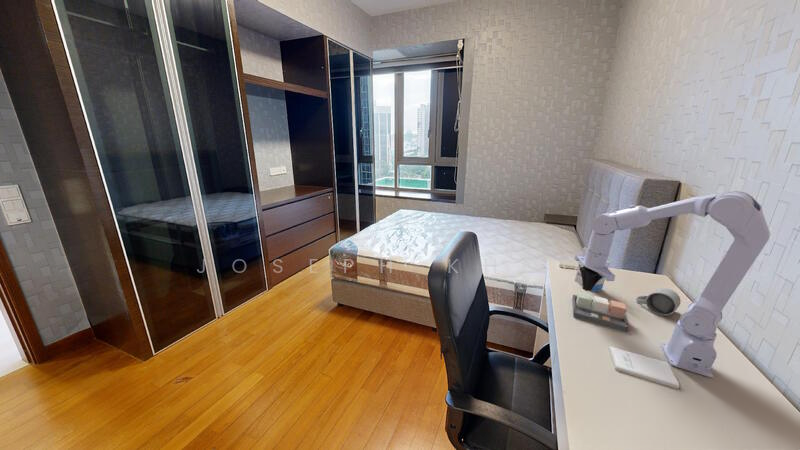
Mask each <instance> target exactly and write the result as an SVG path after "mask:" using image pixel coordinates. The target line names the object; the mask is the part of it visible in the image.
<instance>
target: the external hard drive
mask: <svg viewBox="0 0 800 450" xmlns="http://www.w3.org/2000/svg"><path fill="white" fill-rule="evenodd" d="M608 352H609V355H610V357H611V359H612V364H613V369H614V370H615V371H619V372H621V373H624V374H629V375H632V376H635V377H638V378H641V379H645V380H648V381H652V382H654V383H658V384H660V385H664V386H667V387H671V388H674V389H678V390H679V389H680V384H679V381H678V379H677V377H676V376H675V374H674V372H673V370H672V368H671V366H670V365H669V364H670V363H668V362H667V361H663V360H660V359H656V358H653V357H648V356H645V355H642V354H639V353H634V352H632V351H631V352H630V351H627V350H624V349H619V348H617V347H613V346H608Z"/></svg>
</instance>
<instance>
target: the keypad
mask: <svg viewBox="0 0 800 450" xmlns="http://www.w3.org/2000/svg"><path fill="white" fill-rule="evenodd" d="M577 296H578V294H572V298H571V301H572V315H573V318H577V319H581V320H584V321H587V322H591V323H595V324H598V325H601V326H605V327H609V328H611V329H612V328H613V329H616V330H619V331H623V332H626V333H628V330H629V328H630V327H629V325H628V322H627V319H626V316H625V315H626V314H625V315H624V318H621V317H617V316H614V315H610V314H609V310H608V309H607V313H602V312H599V311H595V310H593V308H592V302H593V299H594V298H593V299H592V302H591V306H590V309H588V308H584V307H580V306H577V302H576V300H577ZM608 307H609V306H608Z"/></svg>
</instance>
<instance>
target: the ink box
mask: <svg viewBox="0 0 800 450" xmlns="http://www.w3.org/2000/svg"><path fill="white" fill-rule="evenodd" d="M587 248H588V247H586V246H584V247H583V248H582V253H581V255H583V256H585V255H586V252H587ZM578 262H579V261H578ZM610 263H611V262H610V261H608V260H607V262H606V264H607V265H608V266H607V268H608V269H609V267H610ZM577 266H578V267H577V270H576V274H575V278H574V281H575V282H576V283H578V284H580V285H581V287H583V283H582V275H581V272H580V270H579V269H580V267H583V266H584V265H583V264H582V263H581V262H579V263H578V265H577ZM605 279H606V278H604V277H603V278H601V279H600V280H599V281H598V282H597V283H596V284H595V286H594V287H593V289H592V290H591V291H590V292H598V291H599V290H600V291H602V290H603V287H604V284H605V281H606V280H605ZM600 291H599V292H600Z"/></svg>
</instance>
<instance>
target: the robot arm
mask: <svg viewBox="0 0 800 450" xmlns="http://www.w3.org/2000/svg"><path fill="white" fill-rule="evenodd" d="M688 214H692V215H695V216H699V217H701V218H706V217H707V216H709V217H710V218H712V220H714V221H716V222H717V223H719V224H720V225H722V226H724V227H725V228H726V230H727V231H728V232H729V233H730V234H731V236H732V237H733V238H734V239H733V241H732V243H731V245H730V246H729V247H728V249H727V251H726V252H725V254H724V256H723V258H722V259H721V261H720V263H719V264H718V266H717V268H716V269H715V271H714V272H713V274H712V276H711V277H710V279H709V280H708V282H707V284H706V285H705V287H704V288H703V291H702V292H701V293H700V294H699V297H698V299H696V300H694V301H692V302H690V304H688V306H687V309H686V310H685V311H684V313H682V314H681V315H680V317H679V319H678V320H677V322H676V324H675V326H674V329H673V331H672V334H671V336H670V339H669V342H668V343H667V342H663V341H661V342H660V345H661V347H662V349H663V351H664V354H665V356H666V358H667V360H668V362H669V364H670V365H671V367H672V366H673V367H676V368H679V369H682V370H686V371H689V372H692V373H695V374H699V375H701V376H702V375H703V376H705V377H708V378H713V374H712V372H711V370H712V366H713V365H714V363H715V361H716V359H717V356H718V355H717V351H716V349H715V340H716V339H717V335H718V333H716V331H717V327H718V325H719V323H720V322H721V321H722V319H723V310H724V308H725V306H726V305H727V303H728V302H729V300H730V299H731V297H732V295H733V294H734V293H735V291H736V290H737V288H738V287H739V285H740V284H741V283H742V281H743V279H744V278H745V276H746V275H747V273H748V271H750V269H751V267H752V266H753V264H754V263H755V261H756V260H757V258H758V256H759V255H760V253H761V252H762V250H763V249H764V248H765V246H766V245H767V243H768V242H769V240H770V236H771V231H770V230H769V226H768V224H767V221H766V217H765V214H764V211H763V207H762V205H761V204H760V203H759V202H758V201H757V200H756V199H755V198H754V197H753V196H752V195H750V194H749V193H748V192H744V191H740V190H739V191H737V190H733V191H729V192H725V193H723V194H720V193H712V194H707V195H699V196H695V197H694V196H693V197H690V198H686V199H681V200H677V201H673V202H669V203H666V204H661V205H658V206H654V207H647V206H643V205H636V204H631V205H629V206H628V208H625V209H619V210H615V209H613V210H610V211H609V212H606V213H605V212H604V213H602V214H599V215H597V216H595V217H593V219H592V220H591V225H590V226H591V229H592V231H591V235H590V237H589V239H588V240H589V241H588V245H587V247H586V248H587V252H586V255H585V256H583V255H581V254H582V253H581V254H575V256H574V260H575V261H576V262H581V263H582V264H583V265H584V266H583V267H580V269H579V270H580V272H581V275H582V283H583V286H582V289H583V291H585V292H592V291H591V290H592V289H593V287H594V286H595V284H596V283H597V282H598V281H599V280H600V279H601V278H603V277H604V278H605V281H607V282H614V281H615V278H616V275H615V274H614V273H613V272H612V271H611V270H610V269H609V267H608V268H607V266H608V265H607V264H606V262H607V261H608V258H609V256H610V253H611V249H612V245H613V242H614V238H615V234H616V231H625V230H629V229H630V230H632V229H636V228H642V227H646V226H648V225H650V223H651V221H652V220H659V219H664V218H669V217H675V216H676V217H677V216H682V215H688Z"/></svg>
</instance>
